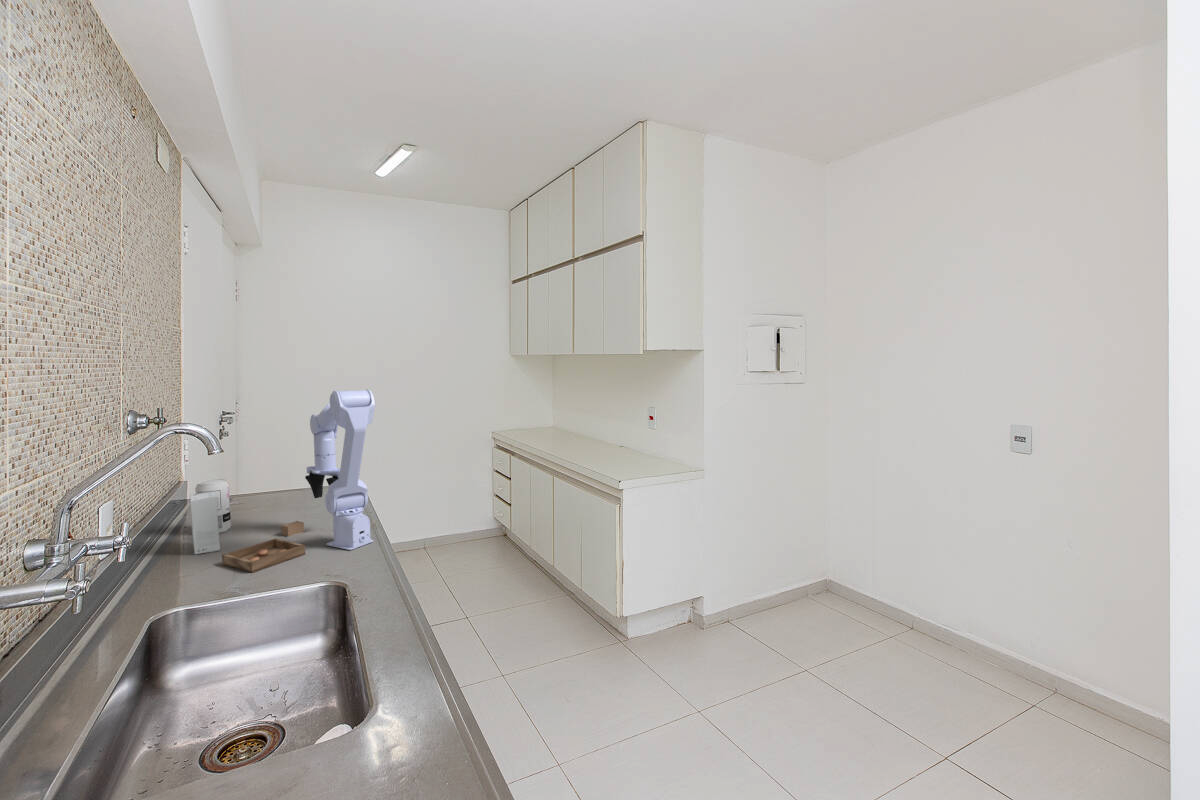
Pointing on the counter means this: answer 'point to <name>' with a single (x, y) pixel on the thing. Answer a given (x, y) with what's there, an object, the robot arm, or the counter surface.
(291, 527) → the lid
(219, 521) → the supplement can
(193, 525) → the skincare box
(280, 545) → the box
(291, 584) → the counter surface
